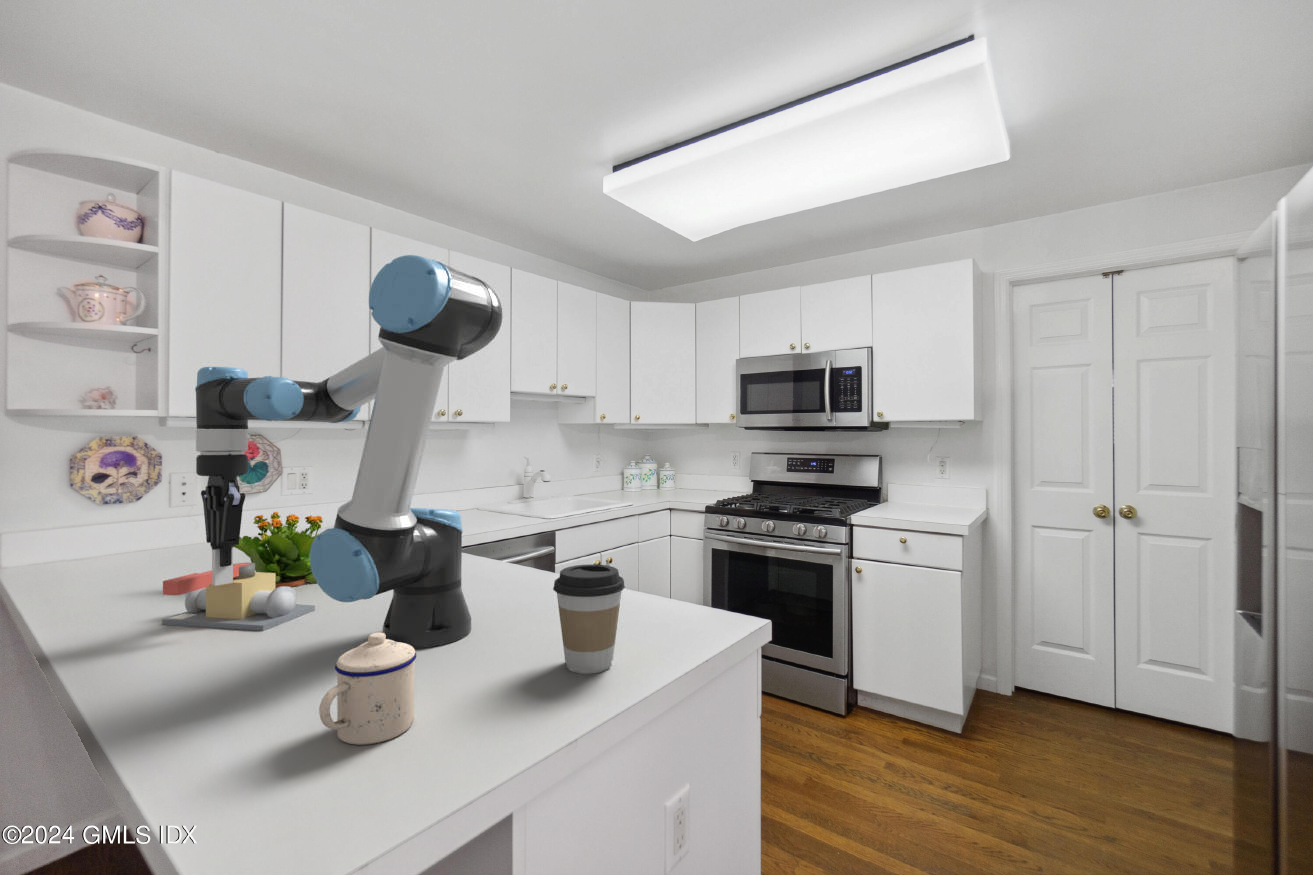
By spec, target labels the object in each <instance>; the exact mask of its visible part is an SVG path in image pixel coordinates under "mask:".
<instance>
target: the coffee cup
mask: <svg viewBox="0 0 1313 875" xmlns="http://www.w3.org/2000/svg"><path fill="white" fill-rule="evenodd" d="M553 582H554V584H553V585H554V586H553V588H552V590H553V591H554V592H555V593H556V597H557V605H558V613H559V614H558V615H559V622H560V628H561V636H562V637H561V638H562V646H563V653H564V654H563V655H564V662H565V663H566V667H567V669H568V670H569V671H570V672H572V673H576V674H583V675H593V674H598V673H602V672H604V671H607V670H609V669H610V668H611V667H612V662H613V660H614V653H615V646H616V639H617V638H616V636H617V630H618V622H619V612H620V605H621V598H622V591H623V590H624V589H625V588H626V587H625V580H624V578H623V577H622V576H621V575H620V574H619V569H618V568H617V567H614V566H610V565H607V564H606V565H605V564H590V563H589V564H578V565H571V566H568V567H565V568H563V569H561V570H560V571H559V577H557V578H556V579H555V580H554V581H553Z"/></svg>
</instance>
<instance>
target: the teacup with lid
mask: <svg viewBox="0 0 1313 875" xmlns="http://www.w3.org/2000/svg"><path fill="white" fill-rule="evenodd" d="M416 658H417V652H416V650H415V648H413V647H412V646H410V645H408V644H406V643H400V642H395V641H393V640H389V639H386V635H385V634H384V633H382V632H373V633H371V634H369V635H368V637H367V641H365V642H363V643H361V644H360V645H359V646H357V647H354V648H352V649H350V650H347V651H346V652H344V653H343V654H342V655H340V656H339V657H338V659H337V661H336V663H335V665H334V670H335V671H336V674H337V676H336V680H337V685H334V686H333V687H331V688H330V689H329V690H328V691H327V692H326V693H325V694H324V696H323V697H322V699H321V700H320V702H319V703H320V704H319V707H318V709H319V710H318V714H319V719H320V720H321V723H322V724H323V725H324V727H326V728H327V729H331V730H337V731H336V732H337V737H338V739H340V741H342V742H344V743H346V744H350V745H356V746H364V745H365V746H366V745H373V744H379V743H382V742H386V741H389V740H392V739H394V738H397V737H399V736H401V735H402V734H404V733H405V732H406V731H408V730H409V729H410V728H411V726H412V725H413V723H414V721H415V660H416ZM336 697H337V700H336V701H337V704H336V706H337V707H336V708H337V709H336V711H337V716H336V720H337V721H334V719H332V716H331V705H332V702H333V700H334V699H335V698H336Z"/></svg>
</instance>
